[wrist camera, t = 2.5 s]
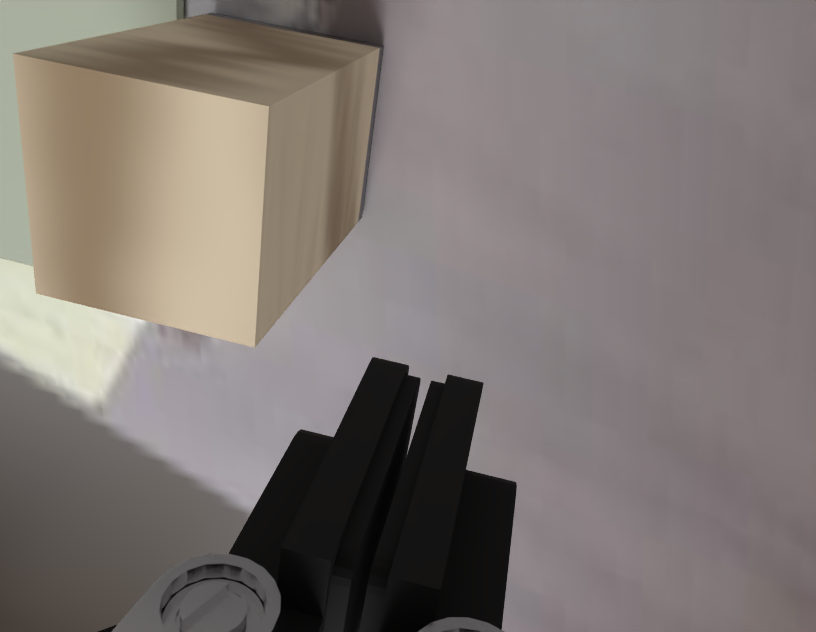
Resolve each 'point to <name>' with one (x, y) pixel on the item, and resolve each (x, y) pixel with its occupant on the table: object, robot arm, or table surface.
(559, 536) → the table surface
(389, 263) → the table surface
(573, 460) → the table surface
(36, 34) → the rubber mat
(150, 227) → the maple block
